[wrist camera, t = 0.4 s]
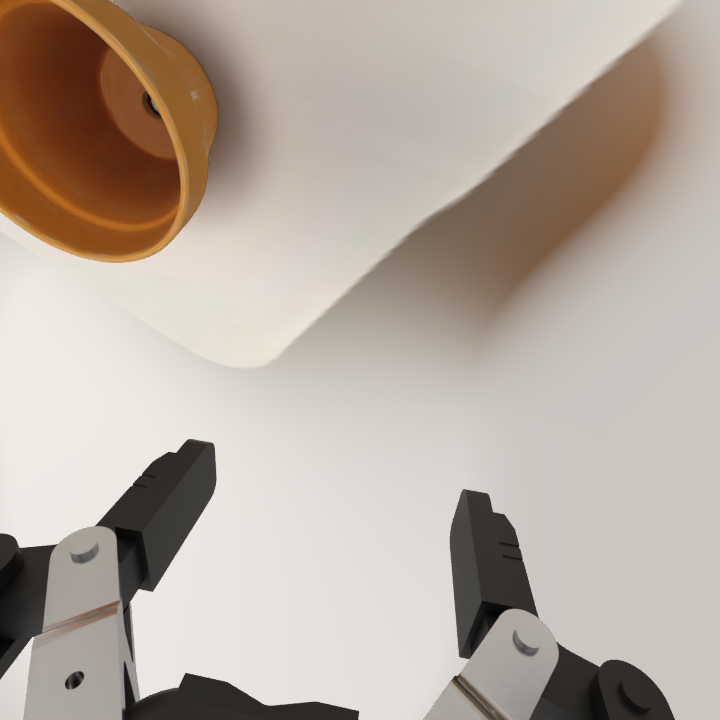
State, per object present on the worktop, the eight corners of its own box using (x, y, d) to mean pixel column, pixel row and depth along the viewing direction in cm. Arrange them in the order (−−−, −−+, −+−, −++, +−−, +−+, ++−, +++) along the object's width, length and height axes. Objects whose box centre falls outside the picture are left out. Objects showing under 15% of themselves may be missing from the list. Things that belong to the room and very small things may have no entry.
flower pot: (217, -43, 26) (103, -60, 16) (273, 185, 35) (221, 258, 26) (24, -11, 28) (-177, -9, 18) (126, 196, 37) (28, 268, 28)
